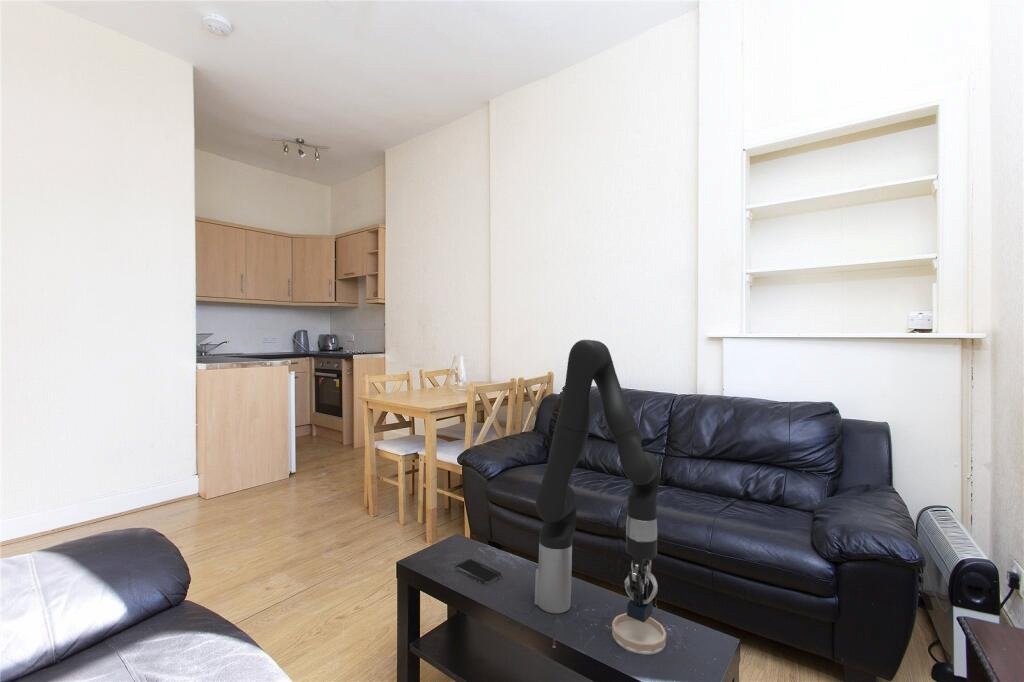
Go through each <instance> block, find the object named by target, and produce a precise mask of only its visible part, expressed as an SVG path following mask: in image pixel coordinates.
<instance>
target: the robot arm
mask: <svg viewBox="0 0 1024 682" xmlns="http://www.w3.org/2000/svg"><path fill="white" fill-rule="evenodd" d="M566 367H567V368H566V375H565V384H564V389H563V393H562V397H561V403H560V405H559V410H558V416H557V417H556V418H557V419H556V423H555V426H554V431H553V435H552V441H551V445H550V450H549V454H548V458H547V463H546V468H545V471H544V474H543V478H542V480H541V483H540V486H539V489H538V492H537V495H536V499H535V509H536V512H537V514H538V517H539V518H540V519H541V520H542V521H543V522H544V524H543V526H542V527H541V530H540V532H539V534H538V535H539V539H538V540H539V541H538V542H539V543H538V546H539V547H538V567H537V568H536V569H535V576H534V578H535V579H534V580H535V583H534V605H536V606H538V607H539V609H541V610H542V611H544V612H546V613H550V614H563V613H565V612H568V611H569V610H570V608H571V606H572V604H571V602H572V601H571V600H572V597H571V596H572V594H571V593H572V567H573V566H572V564H573V563H572V562H573V561H572V559H573V557H572V556H573V537H574V535H575V532H576V531H575V530H576V524H577V523H576V520H577V504H578V503H577V497H576V494H575V492H574V490H573V488H572V487H571V486H570V485H569V483H570V480H571V476H572V473H573V472H574V470H575V468H576V466H577V464H578V462H579V461H580V459H581V457H582V455H583V454H584V450H585V448H586V446H587V445H586V444H587V442H588V438H589V437H588V436H589V433H590V429H591V416H592V415H591V407H590V393H591V389H592V384H593V382H594V383H595V385H596V387H597V389H598V392H599V395H600V399H601V404H602V405H601V406H602V411H603V416H604V419H605V421H606V425H607V428H608V429H609V431H610V434H611V436H612V438H613V439H614V442H615V445H616V448H617V452H618V457H619V460H620V465H621V468H622V470H623V472H624V475H625V476H626V478H627V479H628V480H629V481H630V482H631V483H632V488H631V490H630V492H629V493H628V497H627V516H626V518H627V519H626V524H625V527H626V528H625V530H626V531H625V551H626V553H627V554H628V555H630V556H631V557H632V558H633V559H632V560H631V563H630V565H631V566H630V568H631V570H630V571H629V572H628V575H629V581H630V590H631V592H632V593H634V604H635V606H638V607H641V606H642V607H643V599H645V600H647V598H648V586H649V583H650V582H649V581H651V580H650V579H649V578H648V577H647V571H650V572H651V573H652V565H653V564H652V563H653V558H655V557H656V556H657V555H658V523H657V522H658V521H657V497H658V492H659V486H660V480H661V465H660V462H659V459H658V458H657V456H655V455H654V454H652V453H650V452H647V451H644V449H643V446H642V441H643V434H642V431H641V430H640V428H639V425H638V423H637V421H636V419H635V417H634V415H633V412H632V410H631V409H630V406H629V405H628V402H627V400H626V397H625V394H624V391H623V389H622V387H621V384H620V381H619V378H618V375H617V373H616V369H615V366H614V361H613V358H612V356H611V352H610V350H609V347H608V346H607V345H606V344H605V343H603V342H601V341H599V340H595V339H594V340H592V339H581V340H578V341H576V342H575V343H574V344H573V345H572V347H571V348H570V351H569V352H568V358H567V366H566Z"/></svg>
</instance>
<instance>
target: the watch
mask: <svg viewBox="0 0 1024 682" xmlns="http://www.w3.org/2000/svg"><path fill="white" fill-rule="evenodd" d="M647 577H648V578H649V579H650V580H649V581H651V584H652V586H653V588H652V591H651V593H650V595H649V597H648V596H647V600H645V599H643V607H642V606H641V607H638V606H635V604H634V593H632V592H631V590H630V581H629V574H628V575H627V577H626V578H625V579H624V583H623V584H624V588H625V592H626V594H627V595H628V597H629V598H630V600H629V601H628V602H627V609H626V610H627V612H626V613H627V616H629V617H631V618H634V619H636V620H638V621H641V622H643V623H644V622H645V621H646V620H647V619H648V618H649V617H651V616H652V615H653V604H654V603H653V599H654V598H655V597H656V595H657V593H658V590H659V589H658V587H659V585H658V581H657V579H656V577H655V575H654V574H653V573H652V571H651V572H650V571H647Z"/></svg>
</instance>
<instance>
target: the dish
mask: <svg viewBox="0 0 1024 682" xmlns="http://www.w3.org/2000/svg"><path fill="white" fill-rule="evenodd" d="M611 631H612V633H611V634H612V639H613V640H614V641H615V642H616V643H617V644H618V645H619V646H620V647H621V648H623V649H624V650H626V651H629V652H631V653H634V654H638V655H647V656H648V655H656V654H659V653H661V652H662V651H663V650H664V649H665V647H666V641H667V632H666V630H665V627H664V626H663V624H662V623H660V622H659V621H657V620H656V619H654V618H653V617H651V616H650V617H649V618H648V619H647V620H646V621H645V622H644V623H643V622H641V621H638V620H636V619H634V618H631V617H629V616H627V612H624V613H622V614H618V615H616V616H615V617H614V619H613V620H612V621H611Z"/></svg>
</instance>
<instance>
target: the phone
mask: <svg viewBox="0 0 1024 682" xmlns="http://www.w3.org/2000/svg"><path fill="white" fill-rule="evenodd" d="M455 569H457V570H459V571H461V572H463V573H465V574H467V575H468V576H470V577H472V578H474V579H476V580H477V581H476V580H475V581H476V582H478V581H480V582H481V583H483V584H489V583H490V584H492V583H493V582H492V581H494V582H496V581H498V580H499V579H498V578H500V579H502V578H503V574H502V572H500V571H498V570H496V569H494V568H492V567H489V566H488V565H486V564H484V563H481V562H480V561H477V560H476V559H473V558H469V559H466V560H464V561H461V562H460V563H457V564H455V566H454V570H455ZM457 570H456V571H457ZM459 571H458V572H459ZM461 572H460V573H461ZM463 573H462V574H463ZM465 574H464V575H465ZM468 576H467V577H468ZM470 577H469V578H470ZM501 577H502V578H501ZM472 578H471V579H472ZM474 579H473V580H474ZM497 579H498V580H497ZM495 580H496V581H495ZM491 582H492V583H491ZM481 583H480V584H481ZM483 584H482V585H483ZM490 584H489V585H490Z"/></svg>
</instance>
